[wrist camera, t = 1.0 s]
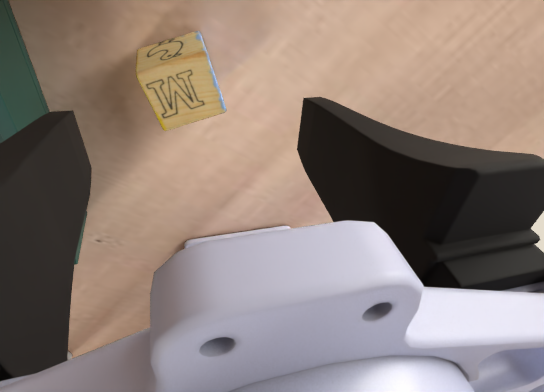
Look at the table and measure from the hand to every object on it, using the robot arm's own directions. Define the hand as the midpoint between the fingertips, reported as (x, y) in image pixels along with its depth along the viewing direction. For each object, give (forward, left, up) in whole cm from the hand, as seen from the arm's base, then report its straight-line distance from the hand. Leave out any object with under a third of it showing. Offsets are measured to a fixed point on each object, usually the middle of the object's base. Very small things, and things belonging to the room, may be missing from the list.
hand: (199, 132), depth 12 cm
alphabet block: (-1, 0, -8) cm, 8 cm away
